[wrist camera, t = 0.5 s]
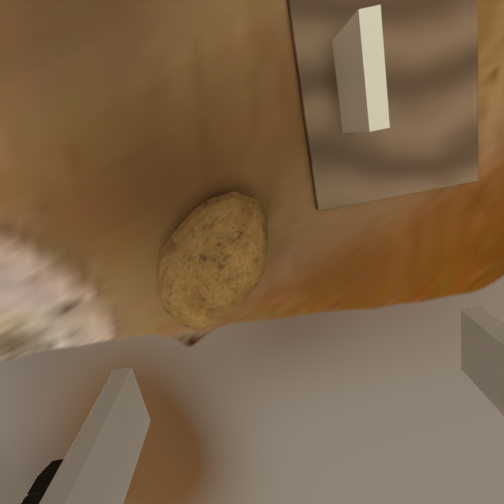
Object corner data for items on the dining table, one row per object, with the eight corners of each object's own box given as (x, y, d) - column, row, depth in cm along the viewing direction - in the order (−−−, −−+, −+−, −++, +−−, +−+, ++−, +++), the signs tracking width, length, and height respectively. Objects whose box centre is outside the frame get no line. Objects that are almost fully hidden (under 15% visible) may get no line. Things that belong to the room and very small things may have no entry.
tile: (332, 40, 32) (358, 9, 24) (350, 36, 32) (382, 4, 24) (342, 133, 34) (369, 131, 27) (359, 129, 34) (391, 127, 27)
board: (281, -38, 31) (282, -45, 30) (468, -81, 31) (476, -89, 29) (316, 208, 38) (318, 211, 37) (471, 179, 37) (478, 180, 36)
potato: (290, 211, 38) (301, 230, 30) (226, 317, 41) (222, 357, 34) (207, 165, 36) (197, 172, 29) (149, 278, 40) (126, 312, 32)
